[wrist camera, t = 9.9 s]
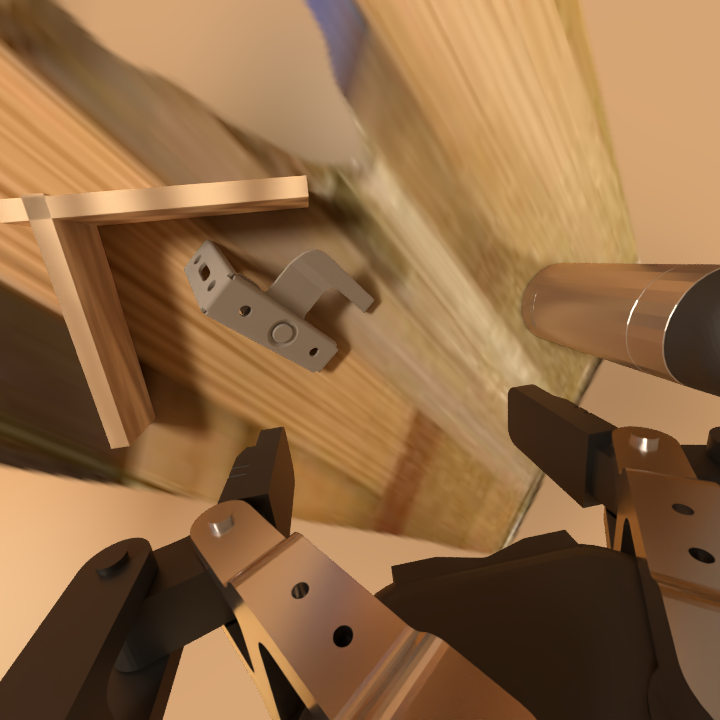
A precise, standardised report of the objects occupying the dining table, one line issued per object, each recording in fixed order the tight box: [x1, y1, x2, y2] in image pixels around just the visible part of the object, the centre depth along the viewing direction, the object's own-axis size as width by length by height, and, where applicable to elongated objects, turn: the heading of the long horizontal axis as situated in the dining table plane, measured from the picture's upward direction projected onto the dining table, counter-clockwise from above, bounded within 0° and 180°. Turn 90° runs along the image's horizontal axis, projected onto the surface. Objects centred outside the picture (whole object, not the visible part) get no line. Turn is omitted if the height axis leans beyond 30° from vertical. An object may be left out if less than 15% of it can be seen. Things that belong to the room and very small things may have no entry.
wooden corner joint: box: [0, 176, 309, 449], centre depth 33 cm, size 24×22×6 cm
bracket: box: [184, 239, 375, 372], centre depth 36 cm, size 10×14×10 cm
